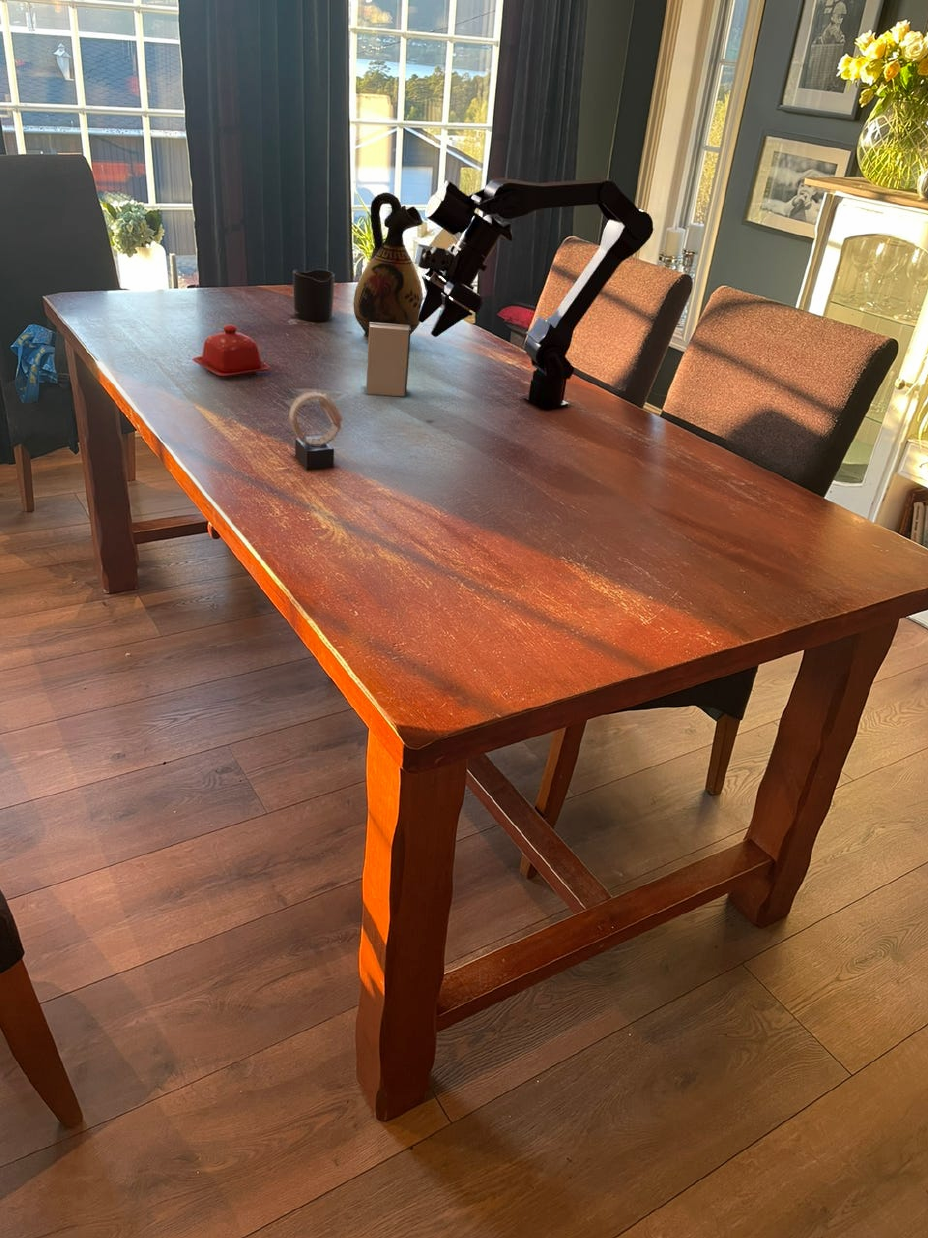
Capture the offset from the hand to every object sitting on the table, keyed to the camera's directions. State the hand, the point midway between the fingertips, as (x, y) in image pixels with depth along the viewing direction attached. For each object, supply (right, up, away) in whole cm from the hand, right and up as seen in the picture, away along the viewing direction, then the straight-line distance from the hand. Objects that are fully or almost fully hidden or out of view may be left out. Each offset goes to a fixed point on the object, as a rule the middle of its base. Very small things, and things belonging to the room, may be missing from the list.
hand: (426, 328), depth 168 cm
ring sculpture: (-17, -28, -21) cm, 39 cm away
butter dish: (-38, -4, +13) cm, 40 cm away
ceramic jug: (-11, +10, +41) cm, 44 cm away
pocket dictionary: (-8, -9, +11) cm, 16 cm away
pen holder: (-29, +18, +52) cm, 62 cm away
